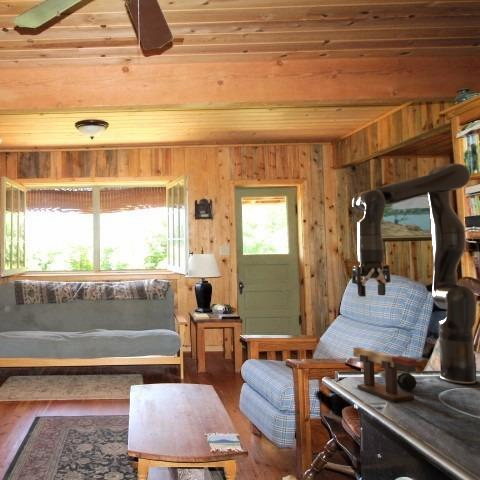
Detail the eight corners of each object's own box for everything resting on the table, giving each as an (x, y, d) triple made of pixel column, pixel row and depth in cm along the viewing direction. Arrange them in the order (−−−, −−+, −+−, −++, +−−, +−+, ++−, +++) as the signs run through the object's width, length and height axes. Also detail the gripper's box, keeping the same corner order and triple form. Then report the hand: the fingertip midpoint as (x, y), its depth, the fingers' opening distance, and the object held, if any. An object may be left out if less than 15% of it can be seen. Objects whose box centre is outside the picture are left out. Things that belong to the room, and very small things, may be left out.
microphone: (377, 383, 149) (406, 394, 129) (370, 367, 150) (398, 376, 130) (392, 378, 148) (423, 389, 129) (385, 363, 149) (415, 371, 130)
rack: (356, 388, 135) (355, 355, 135) (375, 385, 137) (374, 353, 137) (393, 402, 122) (392, 365, 122) (414, 399, 124) (412, 363, 125)
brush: (351, 356, 139) (351, 346, 139) (360, 355, 140) (359, 345, 140) (407, 372, 120) (407, 360, 120) (417, 371, 121) (416, 359, 121)
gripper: (376, 248, 146) (378, 294, 145) (344, 249, 141) (346, 295, 141) (396, 248, 138) (398, 296, 138) (363, 248, 134) (365, 298, 134)
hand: (371, 295), depth 139 cm, fingers open, 8 cm apart
